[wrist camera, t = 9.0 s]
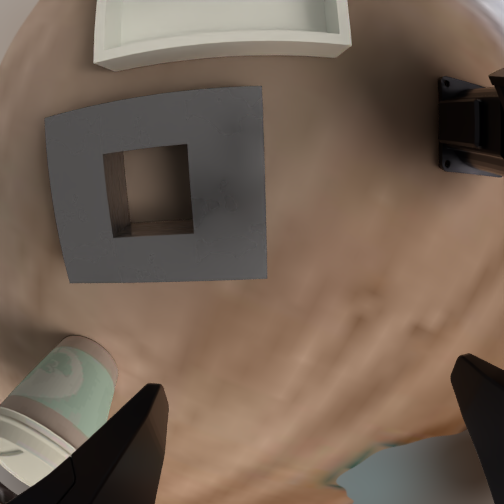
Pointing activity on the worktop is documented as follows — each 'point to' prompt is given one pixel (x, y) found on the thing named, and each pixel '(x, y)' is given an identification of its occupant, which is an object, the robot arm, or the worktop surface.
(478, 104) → the robot arm
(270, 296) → the worktop surface
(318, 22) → the parts tray
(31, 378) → the coffee cup
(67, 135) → the block
